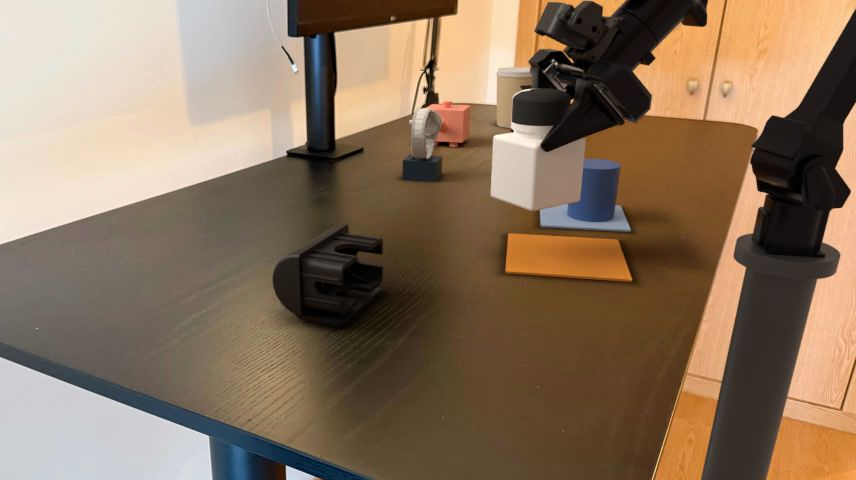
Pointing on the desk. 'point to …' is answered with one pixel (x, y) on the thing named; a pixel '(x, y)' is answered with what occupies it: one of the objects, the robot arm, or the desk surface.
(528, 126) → the medicine bottle
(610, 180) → the blue cylinder
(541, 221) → the blue mat
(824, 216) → the robot arm
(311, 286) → the end cap
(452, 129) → the pink cube teapot
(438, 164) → the watch
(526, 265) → the amber mat
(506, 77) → the coffee cup
